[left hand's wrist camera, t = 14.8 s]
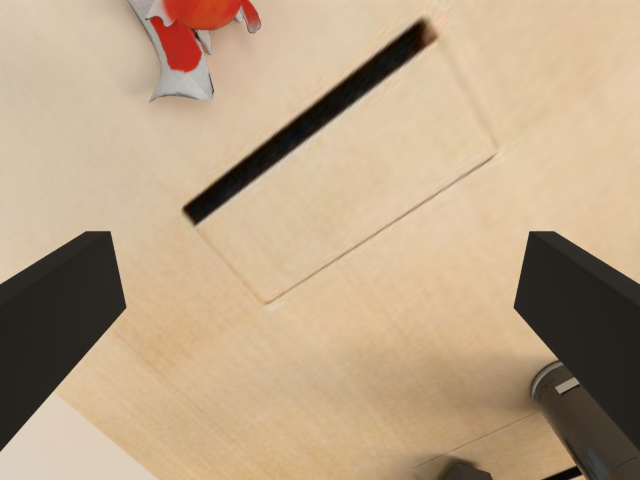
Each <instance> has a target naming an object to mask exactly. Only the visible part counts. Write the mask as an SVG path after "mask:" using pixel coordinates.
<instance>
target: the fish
mask: <svg viewBox="0 0 640 480" xmlns="http://www.w3.org/2000/svg"><path fill="white" fill-rule="evenodd" d="M128 2H129V4H130V5H131V7H132V9H133V10H134V12H135V13H136V15H137V17H138V18H139V20H140V22H141V23H142V25H143V26H144V28H145V30H146V32H147V34H148V35H149V37H150V39H151V41H152V43H153V45H154V46H155V49H156V51H157V54H158V56H159V59H160V62H161V66H162V67H161V76H160V80H159V82H158V84H157V86H156V88H155V90H154V92H153V94H152V97H151V99H150V101H149V103H150V102H151V101H153V100H154V99H156V98H157V97H163V96H184V97H189V98H193V99H197V100H212V96H213V92H214V89H213V85H212V82H211V78H210V74H209V70H208V66H207V62H206V59H205V56H204V52H203V49H202V46H201V43H200V40H199V38H200V39H201V41H202V42H203V44H204V45H205V47H206V49H207V50H208V52H209V54H210V55H211V54H212V51H211V39H210V34H209V30H215V29H218V28H221V27H223V26H225V25H227V24H228V23H230V22H231V21H232V20H233V19H234V18H235V19H236V20H237V21H238V22H241V21H242V19H243V17H244V19H245V21H246V24H247V28H248V31H249V33H255V32H256V31H257V30H258V29H260V27H261V22H260V19H259V17H258V13H257V11H256V9H255V8H254V6H253V5H252V4H251V2H250V1H249V0H128ZM193 29H195V30H197V33H196V32H195V31H194V30H193ZM197 34H198V35H197ZM198 36H199V37H198ZM149 103H148V104H149Z"/></svg>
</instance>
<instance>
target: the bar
mask: <svg viewBox="0 0 640 480" xmlns="http://www.w3.org/2000/svg"><path fill="white" fill-rule="evenodd" d="M444 480H493V479H492V477H491V475H490V473H488V472H485V471H482V470H478V469H475V468H472V467H469V466H465V465H462V464H459V463H456V465H455V466H454V467H453V469H452V470H451V471H450V473H449V474H448V475H447V477H446V478H445V479H444Z"/></svg>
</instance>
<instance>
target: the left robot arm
mask: <svg viewBox="0 0 640 480" xmlns="http://www.w3.org/2000/svg"><path fill="white" fill-rule="evenodd" d="M125 309H126V303H125V298H124V294H123V289H122V284H121V279H120V274H119V270H118V265H117V260H116V255H115V251H114V246H113V241H112V236H111V232H110V231H86V232H84V233H82V234H81V235H79V236H78V237H76V238H74V239H73V240H71V241H70V242H68V243H66V244H65V245H63V246H61V247H60V248H58V249H57V250H55V251H53V252H52V253H50V254H49V255H47V256H45V257H44V258H42V259H40V260H39V261H37V262H36V263H34V264H32V265H31V266H29V267H28V268H26V269H24V270H23V271H21V272H19V273H18V274H16V275H15V276H13V277H11V278H10V279H8V280H6V281H5V282H3V283H2V284H0V451H1V450H2V449H3V448H4V447H5V446H6V445H7V444H8V442H9V441H10V440H11V439H12V438H13V437H14V436H15V434H16V433H17V432H18V431H19V430H20V429H21V428H22V426H23V425H24V424H25V423H26V422H27V421H28V420H29V418H30V417H31V416H32V415H33V414H34V413H35V412H36V410H37V409H38V408H39V407H40V406H41V405H42V404H43V402H44V401H45V400H46V399H47V398H48V397H49V396H50V394H51V393H52V392H53V391H54V390H55V389H56V388H57V386H58V385H59V384H60V383H61V382H62V381H63V380H64V378H65V377H66V376H67V375H68V374H69V373H70V372H71V370H72V369H73V368H74V367H75V366H76V365H77V364H78V362H79V361H80V360H81V359H82V358H83V357H84V356H85V354H86V353H87V352H88V351H89V350H90V349H91V348H92V346H93V345H94V344H95V343H96V342H97V341H98V340H99V338H100V337H101V336H102V335H103V334H104V333H105V332H106V330H107V329H108V328H109V327H110V326H111V325H112V324H113V322H114V321H115V320H116V319H117V318H118V317H119V316H120V314H121V313H122V312H123V311H124V310H125ZM514 309H515V310H516V311H517V312H518V313H519V314H520V316H521V317H522V318H523V319H524V320H525V321H526V322H527V324H528V325H529V326H530V327H531V328H532V329H533V330H534V332H535V333H536V334H537V335H538V336H539V337H540V338H541V340H542V341H543V342H544V343H545V344H546V345H547V346H548V348H549V349H550V350H551V351H552V352H553V353H554V354H555V356H556V357H557V358H558V359H559V360H560V361H561V362H562V364H563V365H564V366H565V367H566V368H567V369H568V370H569V372H570V373H571V374H572V375H573V376H574V377H575V378H576V380H577V381H578V382H579V383H580V384H581V385H582V386H583V388H584V389H585V390H586V391H587V392H588V393H589V394H590V396H591V397H592V398H593V399H594V400H595V401H596V402H597V404H598V405H599V406H600V407H601V408H602V409H603V410H604V412H605V413H606V414H607V415H608V416H609V417H610V418H611V420H612V421H613V422H614V423H615V424H616V425H617V426H618V428H619V429H620V430H621V431H622V432H623V433H624V434H625V436H626V437H627V438H628V439H629V440H630V441H631V442H632V444H633V445H634V446H635V447H636V448H637V449H638V450H639V452H640V284H638V283H637V282H635V281H634V280H632V279H630V278H629V277H627V276H625V275H624V274H622V273H621V272H619V271H617V270H616V269H614V268H612V267H611V266H609V265H608V264H606V263H604V262H603V261H601V260H600V259H598V258H596V257H595V256H593V255H591V254H590V253H588V252H587V251H585V250H583V249H582V248H580V247H579V246H577V245H575V244H574V243H572V242H570V241H569V240H567V239H566V238H564V237H562V236H561V235H559V234H558V233H556V232H554V231H530V232H529V236H528V241H527V246H526V251H525V255H524V260H523V265H522V270H521V274H520V279H519V284H518V289H517V294H516V298H515V303H514Z"/></svg>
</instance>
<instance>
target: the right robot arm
mask: <svg viewBox="0 0 640 480" xmlns="http://www.w3.org/2000/svg"><path fill="white" fill-rule="evenodd" d="M531 398H532V401H533V402H534V404H535V405H536V407H537V408H538V409H539V410H540V411H541V413H542V414H543V416H544V417H545V419H546V420H547V422H548V423H549V425H550V426H551V428H552V429H553V431H554V432H555V434H556V435H557V437H558V438H559V440H560V441H561V443H562V444H563V446H564V447H565V449H566V450H567V451H568V453H569V454H570V456H571V457H572V459H573V460H574V462H575V463H576V465H577V466H578V468H579V469H580V471H581V472H582V474H583V475H584V477H585V478H586V479H587V480H640V452H639V450H638V449H637V448H636V447H635V446H634V445H633V444H632V442H631V441H630V440H629V439H628V438H627V437H626V436H625V434H624V433H623V432H622V431H621V430H620V429H619V428H618V426H617V425H616V424H615V423H614V422H613V421H612V420H611V418H610V417H609V416H608V415H607V414H606V413H605V412H604V410H603V409H602V408H601V407H600V406H599V405H598V404H597V402H596V401H595V400H594V399H593V398H592V397H591V396H590V394H589V393H588V392H587V391H586V390H585V389H584V388H583V386H582V385H581V384H580V383H579V382H578V381H577V380H576V378H575V377H574V376H573V375H572V374H571V373H570V372H569V370H568V369H567V368H566V367H565V366H564V365H563V364H562V362H561V361H559V362H556V363H553V364H552V365H550V366H548V367H546V368H545V369H544V370H542V371H541V372H540V373H539V374H538V376H537V377H536V378H535V380H534V381H533V384H532V387H531Z"/></svg>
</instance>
